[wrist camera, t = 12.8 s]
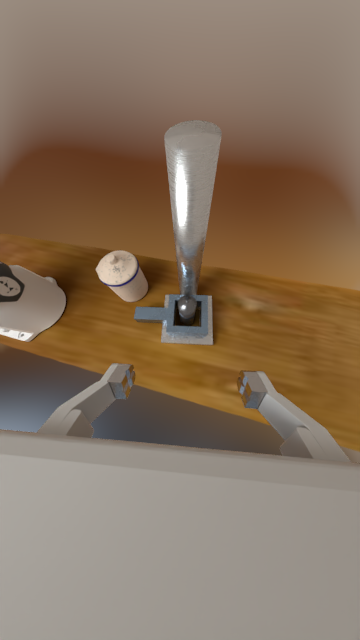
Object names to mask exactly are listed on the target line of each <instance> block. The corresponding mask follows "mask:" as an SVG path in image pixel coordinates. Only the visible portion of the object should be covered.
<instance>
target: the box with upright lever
mask: <svg viewBox="0 0 360 640" xmlns="http://www.w3.org/2000/svg"><path fill="white" fill-rule="evenodd" d="M220 141H221V130H220V129H219V127H218V126H216V125H215V124H213V123H210V122H206V121H198V120H197V121H196V120H194V121H186V122H182V123H179V124H176V125H174V126H173V127H171V128H170V129H169V130H168V131H167V132H166V134H165V149H166V158H167V168H168V178H169V188H170V198H171V208H172V218H173V228H174V238H175V247H176V257H177V267H178V277H179V287H180V295H170V294H169V295H165V306H164V308H158V307H136V310H135V316H134V319H135V320H136V321H137V322H148V323H163V327H162V337H161V343H172V344H193V345H213V327H212V296H208V295H197V290H198V283H199V277H200V270H201V264H202V257H203V251H204V244H205V238H206V232H207V225H208V219H209V212H210V205H211V199H212V193H213V186H214V180H215V173H216V167H217V160H218V154H219V147H220ZM184 295H191V296H193V297H194V298H195V299H196V302H197V305H196V309H199V327H192V326H175V325H176V310H177V309H179V308H178V300H179V299H180V298H181V297H182V296H184Z"/></svg>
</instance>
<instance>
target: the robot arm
mask: <svg viewBox="0 0 360 640" xmlns="http://www.w3.org/2000/svg"><path fill="white" fill-rule="evenodd" d="M65 305H66V297H65V294H64V292H63V290H62V289H61V288H59V287H58V286H57V283H56V280H55V279H54V278H51V277H45V278H43V277H41V276H39V275H37V274H35V273H33V272H31V271H29V270H27V269H25V268H23V267H21V266H18V265H15V266H14V265H10V266H8V265H6V264H4V263H2V262H0V334H2V335H5V336H8V337H12V338H15V339H19V340H22V341H27V342H28V341H31V340H32V339H34V338H35V337H36V336H37V335H38V334H39V333H40V332H42V331H43V330H45V329H47V328H49V327H50V326H52V325H53V324H54V323H55V322H56V321H57V320H58V319H59V318H60V316H61V315H62V313H63V311H64V308H65ZM133 369H134V367H133V365H130V364H117V363H113V364H112V365H111V366H110V367H109V369H108V370H107V371H106V373H105V374H104V376H103V377H102V379H101V380H100V381H99V382H96V383H94V384H93V385H91V386H90V387H88V388H87V389H85V390H84V391H82V392H81V393H79V394H78V395H76V396H75V397H73V398H72V399H70V400H69V401H67V402H66V403H64V404H62V405H61V406H60V407H58V408H57V409H56V410H55V412H54V413H53V414H52V415H51V416H50V417H49V419H48V420H47V421H46V422H45V424H44V425H43V426H42V427H41V428H40V429H39V430H38V432H37V433H34V432H22V431H12V430H1V429H0V640H360V463H353V462H351V461H350V460H349V458H348V457H347V456H346V454H345V453H344V452H343V450H342V449H341V448H340V447H339V445H338V444H337V443H336V441H335V440H334V439H333V437H332V436H331V435H330V434H329V432H328V431H327V430H326V429H325V428H324V427H323V426H322V425H320V424H319V423H318V422H316V421H315V420H314V419H312V418H311V417H310V416H309V415H307V414H306V413H305V412H303V411H302V410H301V409H299V408H298V407H297V406H295V405H294V404H293V403H292V402H290V401H289V400H288V399H286V398H285V397H284V396H282V395H281V394H280V393H277V392H276V390H275V389H274V387H273V385H272V384H271V382H270V381H269V379H268V377H267V376H266V374H265V373H264V372H262V371H243V370H241V371H240V377H239V378H238V380H237V386H238V390H239V392H240V393H241V394H242V397H241V398H242V401H243V404H244V407H245V408H253V409H258V411H259V412H260V413H261V414H262V415H263V416H264V417H265V418H266V420H267V421H268V422H269V423H270V424H271V425H272V426H273V428H274V429H275V430H276V431H277V432H278V433H279V434H280V435H281V437H282V438H283V439H284V440H285V442H284V443H283V444H282V445H281V447H280V450H281V453H282V455H283V456H279V455H269V454H258V453H247V452H235V451H225V450H214V449H204V448H194V447H182V446H173V445H162V444H151V443H140V442H130V441H118V440H109V439H98V438H91V437H92V435H93V433H94V429H93V428H92V426H91V425H90V423H91V422H92V421H94V420H95V419H96V418H97V416H99V415H100V414H101V413H102V412H103V411H104V410H105V409H106V408H107V407H108V406H109V405H110V404H111V403H112V402H113V401H114V400H115V399H127V397H128V395H129V393H130V387H131V386H132V385H133V384H134V381H135V372H134V371H133Z"/></svg>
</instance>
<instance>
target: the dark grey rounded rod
mask: <svg viewBox="0 0 360 640" xmlns="http://www.w3.org/2000/svg"><path fill="white" fill-rule="evenodd" d="M196 305H197V302H196V299H195V298H194V297H193V296H191V295H184V296H182V297H181V298H180V299H179V300H178V308H179V314H180V320H181V323H182V324H183V325H184V326H190V325H192V324H193V322H194V316H195V310H196Z"/></svg>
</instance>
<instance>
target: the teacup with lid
mask: <svg viewBox="0 0 360 640" xmlns="http://www.w3.org/2000/svg"><path fill="white" fill-rule="evenodd" d="M96 272H97V273H98V276H99V278H100V280H101V281H102V282H103V283H104V284H106V285H108V286H109V287H110V288H111V289H112V290H113V291H114V292H115V293H116V294H117V295H118V296H119V297H121V298H122V299H123V300H125V301H128V302H135V301H138V300H140V299H142V298H143V297H144V296H145V295H146V293H147V291H148V283H147V280H146V278H145V276H144V274H143V273H142V271H141V269H140V267H139V263H138V260H137V259H136V257H135V256H134V255H132V254H131V253H129V252H126V251H114V252H111V253H109V254H107V255H106V256H104V257H103V258H102V259H101V261H100V262H99V264H98V266H97V268H96Z"/></svg>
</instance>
